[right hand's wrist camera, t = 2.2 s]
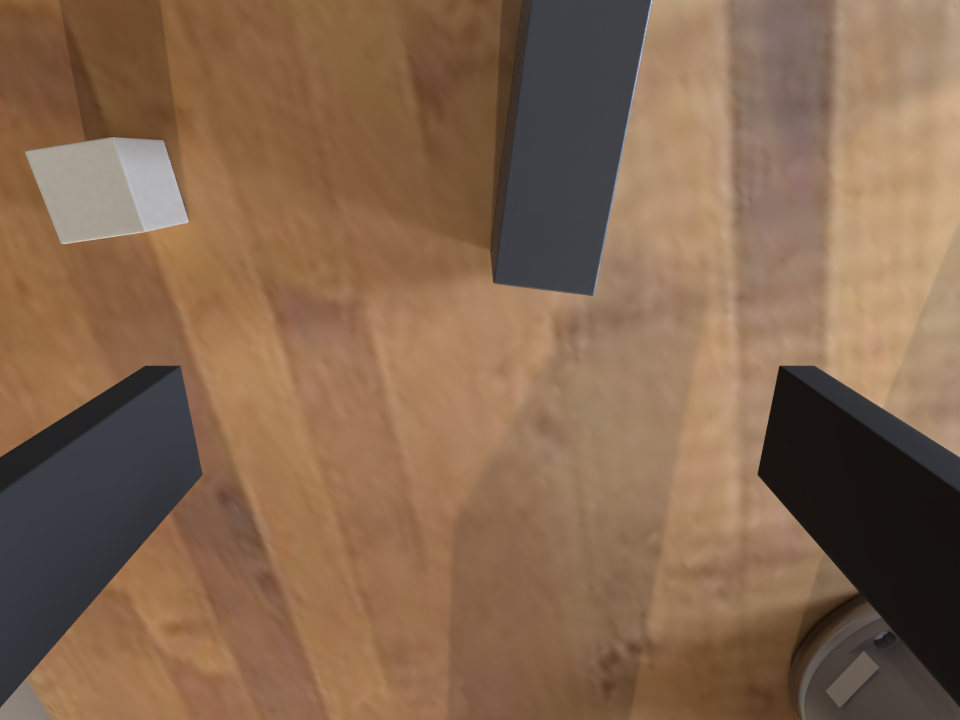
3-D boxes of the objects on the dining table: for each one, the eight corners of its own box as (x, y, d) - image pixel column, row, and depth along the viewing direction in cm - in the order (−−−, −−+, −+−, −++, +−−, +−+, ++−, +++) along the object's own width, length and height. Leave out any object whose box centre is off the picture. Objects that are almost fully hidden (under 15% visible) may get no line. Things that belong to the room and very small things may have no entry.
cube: (164, 139, 27) (112, 136, 23) (189, 222, 29) (145, 232, 25) (86, 151, 27) (23, 150, 24) (115, 233, 29) (60, 244, 25)
